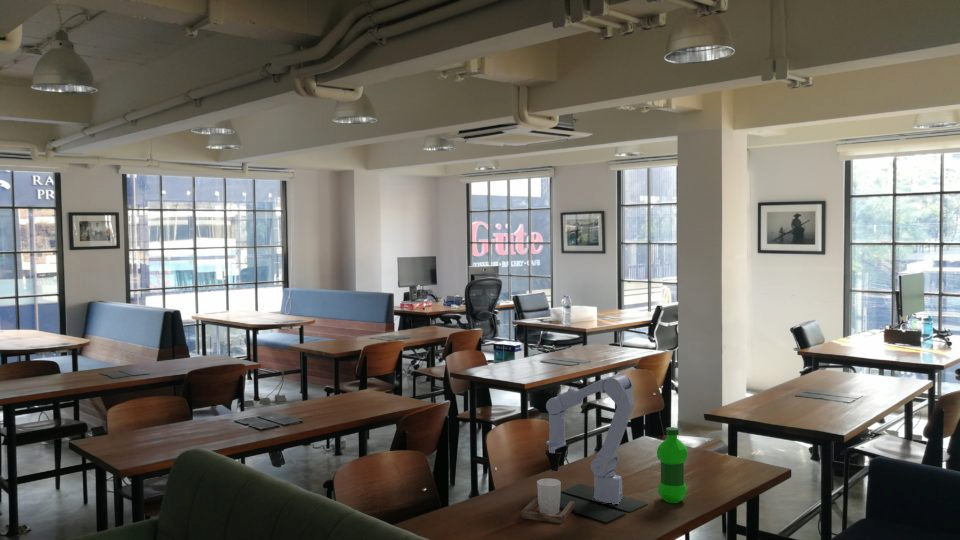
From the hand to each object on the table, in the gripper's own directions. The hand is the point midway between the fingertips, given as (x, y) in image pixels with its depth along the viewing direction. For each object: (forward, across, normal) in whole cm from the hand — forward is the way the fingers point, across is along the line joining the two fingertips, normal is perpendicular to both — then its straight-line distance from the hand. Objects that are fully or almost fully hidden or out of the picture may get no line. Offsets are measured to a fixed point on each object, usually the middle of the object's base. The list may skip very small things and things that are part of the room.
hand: (557, 467), depth 278 cm
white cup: (+9, +21, +3) cm, 23 cm away
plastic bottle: (+9, -3, +40) cm, 41 cm away
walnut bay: (+8, +22, +3) cm, 23 cm away
